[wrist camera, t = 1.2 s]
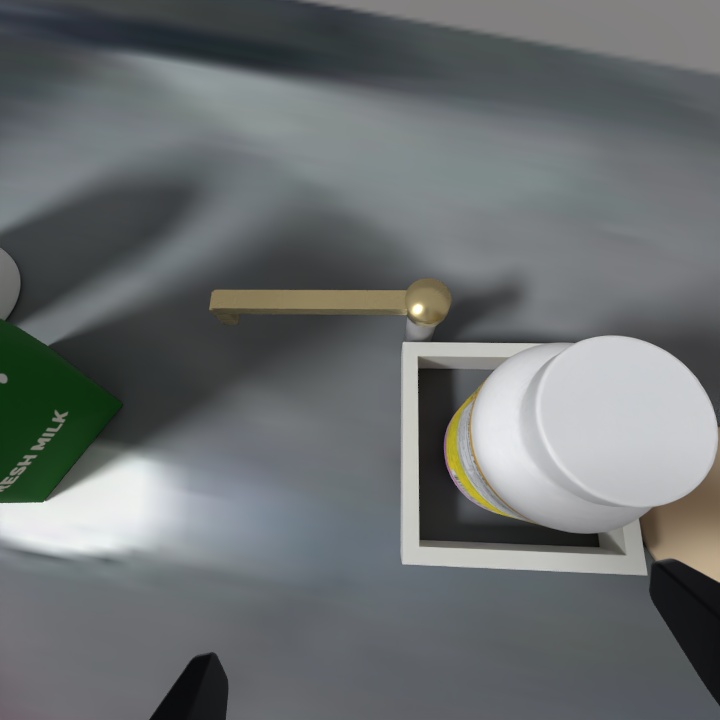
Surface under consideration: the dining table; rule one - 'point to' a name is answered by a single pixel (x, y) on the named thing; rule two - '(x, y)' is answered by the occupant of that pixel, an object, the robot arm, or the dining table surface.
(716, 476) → the coaster
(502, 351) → the socket collar
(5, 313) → the pill bottle
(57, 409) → the milk carton
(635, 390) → the supplement bottle
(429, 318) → the brass lever handle
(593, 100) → the dining table surface
